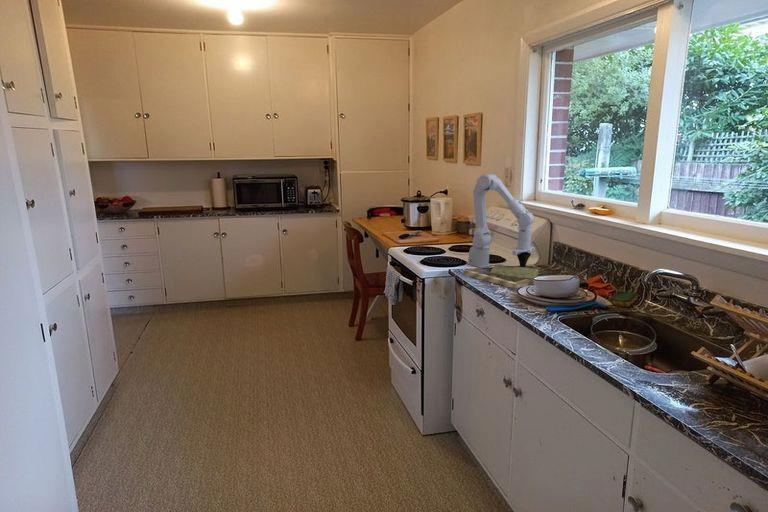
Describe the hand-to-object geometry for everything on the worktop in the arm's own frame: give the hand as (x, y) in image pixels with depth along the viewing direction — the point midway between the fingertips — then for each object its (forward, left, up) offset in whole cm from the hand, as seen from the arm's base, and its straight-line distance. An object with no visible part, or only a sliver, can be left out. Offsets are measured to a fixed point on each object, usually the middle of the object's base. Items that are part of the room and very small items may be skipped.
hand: (522, 268), depth 219 cm
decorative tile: (+3, -10, -3) cm, 11 cm away
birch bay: (0, -19, -2) cm, 19 cm away
